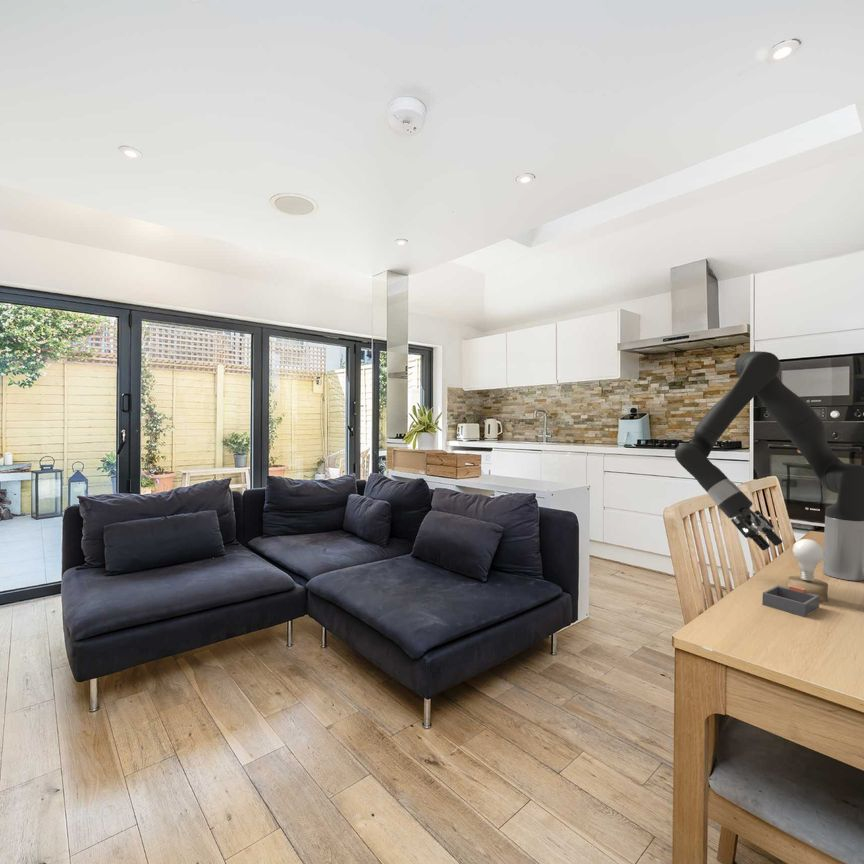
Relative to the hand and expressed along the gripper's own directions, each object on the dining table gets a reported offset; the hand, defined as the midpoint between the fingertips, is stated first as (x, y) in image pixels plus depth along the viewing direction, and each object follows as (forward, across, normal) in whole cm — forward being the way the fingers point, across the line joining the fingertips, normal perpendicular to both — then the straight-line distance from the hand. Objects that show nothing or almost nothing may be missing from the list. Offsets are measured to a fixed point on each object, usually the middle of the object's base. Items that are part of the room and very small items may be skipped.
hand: (773, 546), depth 129 cm
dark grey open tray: (+14, -12, +2) cm, 18 cm away
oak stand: (+14, 0, +2) cm, 14 cm away
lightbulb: (+11, 0, 0) cm, 11 cm away
